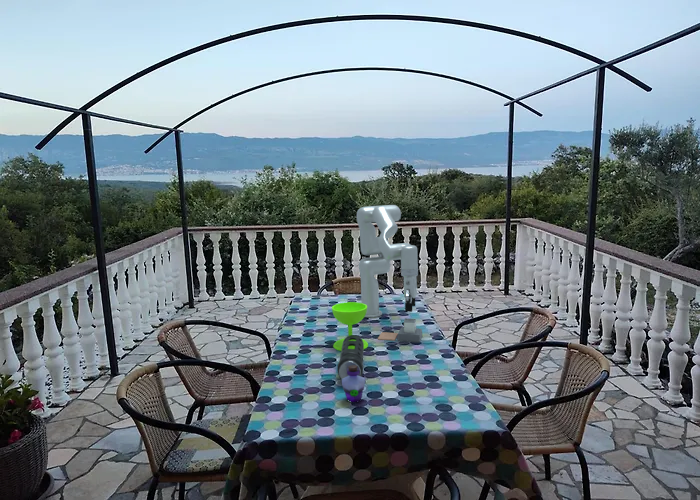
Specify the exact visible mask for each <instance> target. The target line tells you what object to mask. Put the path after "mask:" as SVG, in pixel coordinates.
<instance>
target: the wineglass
mask: <svg viewBox="0 0 700 500" xmlns="http://www.w3.org/2000/svg"><path fill="white" fill-rule="evenodd" d="M331 311H332V312H331V313H332V314H333V317H334V318H335V319H336V321H337V322H339V323H341V324H343V325H347V333H348V334H347V335H348V336H350V335H354V334H353V325H356V324H359V323H360V322H362V321H363V319H364V318H366V317H365V315H366V312H367V305H365V304H363V303H362V302H356V301H349V302H339V303H336V304H334V305H332V306H331ZM345 338H346V337H344V338H341V339H338V340H336V341H335V342H334V343H333V345H332V347H333V349H335V351H336V350H337V351H340V352H341V350H342V345H343V341H344V339H345ZM361 339H362V340H363V343H364V349H363V351H364V350H365V349H367V348H368V347H369V343H368V342H367V341H366V340H365V339H363V338H361ZM349 341H356V340H349ZM348 349H355V346H349V347H348Z"/></svg>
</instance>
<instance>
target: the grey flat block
mask: <svg viewBox="0 0 700 500" xmlns="http://www.w3.org/2000/svg"><path fill="white" fill-rule="evenodd" d="M397 333H398V335H397V341H398V342H408V343H409V342H410V343H411V342H412V343H420V342H421V340H422V337H423V328H419V327H416V333H408V332H404V327H400V329H399V331H398V332H397Z"/></svg>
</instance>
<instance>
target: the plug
mask: <svg viewBox="0 0 700 500" xmlns="http://www.w3.org/2000/svg"><path fill="white" fill-rule="evenodd" d="M403 328H404V332H408V333H416V328H417V318H404V320H403Z"/></svg>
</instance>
